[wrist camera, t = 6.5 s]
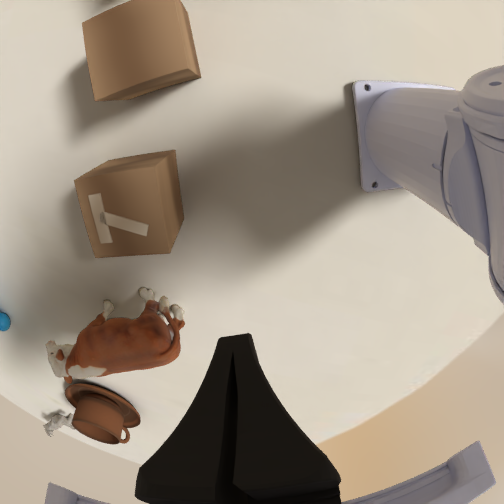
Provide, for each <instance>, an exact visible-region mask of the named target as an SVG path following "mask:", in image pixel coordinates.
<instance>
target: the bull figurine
mask: <svg viewBox="0 0 504 504" xmlns="http://www.w3.org/2000/svg"><path fill="white" fill-rule="evenodd" d="M139 295H140V296H141V297H142V298H143V299H144V300H145V310H144V311H143V312H142V314H141V315H140V317H139V318H137V319H133V320H131V319H128V318H112V319H109V320H107V321H106V319H107V317H108V315H109V314H110V313H111V312H112V311H114V307H113V304H112V303H110V301H108V300H105V301H104V302H103V303H104V311H103V313H101V314H99V315H98V316H97V318H96V319H95V320H93V321H92V322H91V323H90V324H89V325H88V326H87V327H86V328H85V329H83V330H82V331H81V332H80V334H79V335H78V337H77V341H76V344H74V345H70V344H65V345H56V344H55V342H54V341H48V343H47V344H46V348H47V352H48V360H49V363H50V365H51V367H52V369H53V372H54V374H55V376H57V377H64V379H65V381H66V382H67V383H68V384H70V383H72V377H74V378H77V379H85V378H88V377H102V376H106V375H109V374H113V373H120V372H127V371H133V370H144V369H150V368H154V367H159V366H163V365H166V364H169V363H170V362H172V361H174V360H175V359H176V358H177V357H178V356H179V353H180V349H181V347H180V334H179V330H180V329H181V328H182V327H184V325H185V322H184V320H183V314H184V312H185V311H184V310H183V309H182V308H180V307H179V306H178V305H172V306H171V310H172V312H173V314H174V318H173V319H172V318H171V316H170V312H169V303H168V298H166V297H165V296H162V297H161V298H160V300H159V302H156V301H155V299H154V293H153V292H152V290H151V289H150V290H147V289H146V288H144V287H143V288H140V289H139ZM158 311H160V312H161V313H162V314H163V315H164V316H165V317H166V319H167V321H168V322H169V324H168V325H166V323H165V322H164V319H163V317H162V316H161V314H157V312H158Z"/></svg>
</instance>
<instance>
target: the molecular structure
mask: <svg viewBox="0 0 504 504" xmlns="http://www.w3.org/2000/svg"><path fill="white" fill-rule="evenodd" d="M9 327H10V319H9V317H8V316H7V315H6V314H5V313H0V330H1V331H6V330H8V329H9Z"/></svg>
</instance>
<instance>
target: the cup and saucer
mask: <svg viewBox="0 0 504 504" xmlns="http://www.w3.org/2000/svg"><path fill="white" fill-rule="evenodd" d="M65 395H66V398H67V399H68V401H69V402H70V403H71V404H72V405H73V406H74V407H75V408H76V410H75V413H74V416H73V419H72V422H71V424H72V426H73V427H74V428H75V429H76V430H78V431H79V432H80V433H82V434H84V435H85V436H87V437H89V438H92V439H94V440H97V441H99V442H103V443H107V444H118V443H127V442H128V441H129V439H130V434H129V431H128V429H127V428H133V427H136V426H138V425H139V424H140V415H139V413H138V412H137V411H136V409H135V408H134V407H133V406H132V405H131V404H130V403H129V402H127V401H126V400H125V399H123V398H122V397H120V396H118V395H116V394H115V393H113V392H111V391H108V390H106V389H103V388H101V387H98V386H94V385H90V384H82V383H79V384H73V385H70V386H68V387H67V389H66V390H65ZM122 429H123V430H124V431H125V433H126V438H125V439H124V440H123V439H121V433H122Z"/></svg>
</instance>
